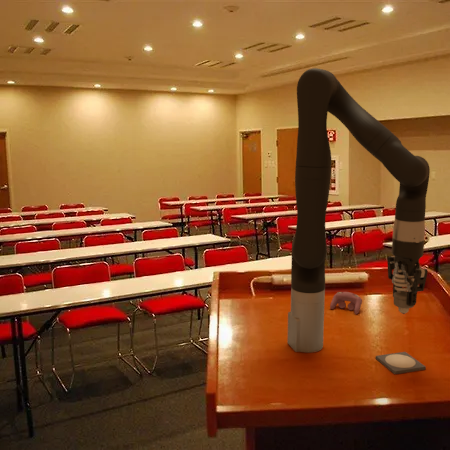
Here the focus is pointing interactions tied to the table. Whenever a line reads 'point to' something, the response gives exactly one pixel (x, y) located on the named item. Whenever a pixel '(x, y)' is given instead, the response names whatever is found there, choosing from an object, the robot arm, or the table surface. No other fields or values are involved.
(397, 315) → the table surface
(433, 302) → the table surface
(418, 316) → the table surface
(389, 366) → the pad
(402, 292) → the light bulb
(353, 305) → the video game controller
